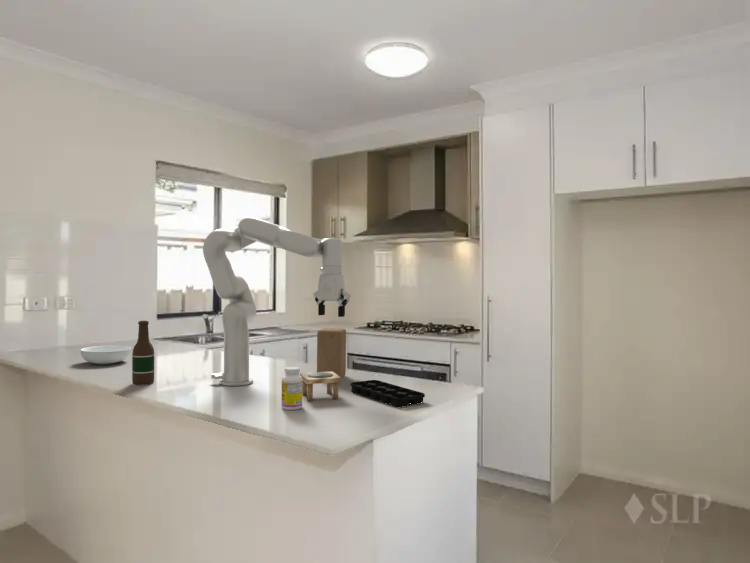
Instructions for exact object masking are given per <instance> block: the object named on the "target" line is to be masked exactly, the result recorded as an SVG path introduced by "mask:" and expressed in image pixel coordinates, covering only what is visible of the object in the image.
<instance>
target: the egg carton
mask: <svg viewBox="0 0 750 563" xmlns="http://www.w3.org/2000/svg"><path fill="white" fill-rule="evenodd" d="M349 386H350V387H351V393H352V392H353V393H352V394H355V393H356V395H360V396H361V397H364V398H370V399H371V400H374V401H380V403H382V402H383V404H385V403H387V404H386V405H390V406H391V405H392V406H391V407H394V406H395V407H394V408H398V407H400V408H403V407H402V406H406V407H408V406H409V404H408V403H411V404H417V403H421V402H422V403H423V402H424V398H425V397H426V394H425V392H420V391H418V390H414V389H410V388H408V387H407V388H406V387H403V386H400V385H397V384H393V383H389V382H386V381H382V380H378V379H369V380H361V381H353V382H350V385H349ZM389 403H391V404H389ZM411 404H410V405H411ZM407 405H408V406H407ZM417 405H418V404H417Z"/></svg>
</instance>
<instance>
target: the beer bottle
mask: <svg viewBox="0 0 750 563" xmlns="http://www.w3.org/2000/svg"><path fill="white" fill-rule="evenodd" d="M137 324H138V334H137V342H136V343H135V345H134V346H133V348H132V353H131V355H132V356H131V357H132V358H131V362H132V363H131V368H132V369H131V372H132V373H131V375H132V376H131V380H132V381H131V382H132V384H133V385H134V386H146V385H153V383H154V382H155V348H154V346H153V344H152V343H151V342H150V336H149V334H150V332H149V324H150V323H149V320H139V321H138V323H137Z"/></svg>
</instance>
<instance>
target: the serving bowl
mask: <svg viewBox="0 0 750 563" xmlns="http://www.w3.org/2000/svg"><path fill="white" fill-rule="evenodd" d="M131 350H132V348H131V347H130V346H127V345H126V346H125V345H124V346H123V345H96V346H88V347H83V348H81V349H80V351H79V352H80V356H81V357H82V359H83V360H85V361H86V362H87V363H92V364H95V365H100V366H101V365H114V364H116V363H119V362H122V361H125V360H126V359H127V358H129V356H130V354H131Z"/></svg>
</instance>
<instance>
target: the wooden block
mask: <svg viewBox="0 0 750 563" xmlns="http://www.w3.org/2000/svg"><path fill="white" fill-rule="evenodd" d="M346 330H347V329H345V328H337V327H334V328H333V327H325V328H321V329H319V330H317V331H316V372H330V371H333V372H334V373H335V374H337V375H338V376H340V377H341V379H343V378H344V377H345V376H346V375H347V374H346V371H347V370H346V368H347V366H346V365H347V364H346V363H347V362H346V361H347V345H346V344H347V331H346Z"/></svg>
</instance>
